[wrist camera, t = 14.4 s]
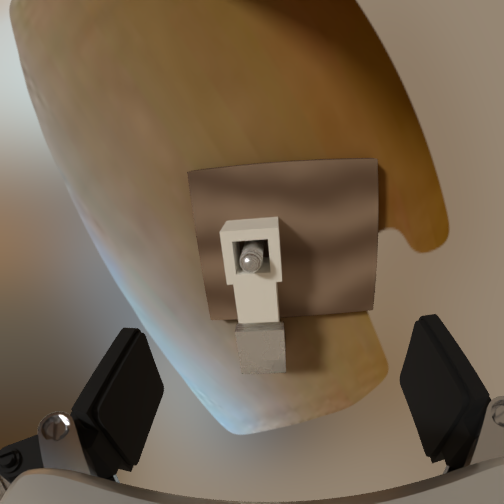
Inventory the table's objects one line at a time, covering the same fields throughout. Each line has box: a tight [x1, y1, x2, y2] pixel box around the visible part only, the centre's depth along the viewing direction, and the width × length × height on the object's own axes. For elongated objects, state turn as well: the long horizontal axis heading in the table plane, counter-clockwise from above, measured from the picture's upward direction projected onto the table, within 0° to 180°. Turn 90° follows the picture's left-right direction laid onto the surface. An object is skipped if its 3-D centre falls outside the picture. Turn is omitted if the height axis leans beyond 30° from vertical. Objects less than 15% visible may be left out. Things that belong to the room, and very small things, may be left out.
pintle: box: [239, 240, 264, 273], centre depth 28 cm, size 2×2×6 cm
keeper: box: [235, 322, 286, 374], centre depth 34 cm, size 6×5×6 cm
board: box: [187, 158, 378, 320], centre depth 32 cm, size 17×19×2 cm
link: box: [220, 217, 282, 324], centre depth 31 cm, size 13×5×4 cm, turn 5°
